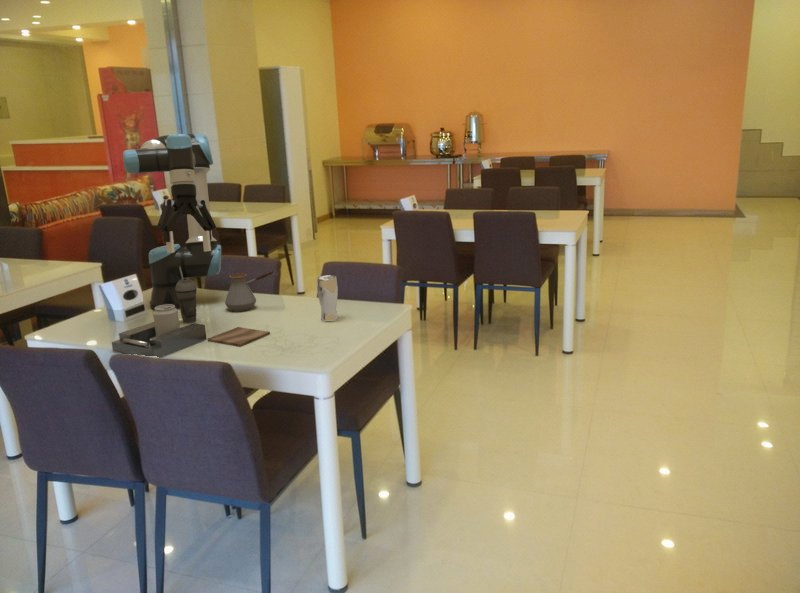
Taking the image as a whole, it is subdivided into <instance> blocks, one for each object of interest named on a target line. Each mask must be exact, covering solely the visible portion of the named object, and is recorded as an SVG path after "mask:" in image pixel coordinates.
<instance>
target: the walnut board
mask: <svg viewBox="0 0 800 593" xmlns="http://www.w3.org/2000/svg"><path fill="white" fill-rule="evenodd" d="M269 335H271V332H270V331H265V330H260V329H254V328H248V327H241V326H237V327H234V328H232V329H229V330H227V331H224V332H222V333H221V332H220V333H219V334H216V335H214V336H211V337H209V338H207V342H211V343H217V344H223V345H228V346H234V347H239V348H241V347H243V346H245V345H247V344H250V343H253V342H255V341H257V340H260V339H262V338H264V337H267V336H269Z"/></svg>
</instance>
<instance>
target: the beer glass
mask: <svg viewBox="0 0 800 593" xmlns="http://www.w3.org/2000/svg"><path fill="white" fill-rule="evenodd" d="M316 278H317V282H316V283H317V284H316V288H317V289H316V290H317V296H318V297H317V298H318V301H319V304H320V308H321V309H320V311H321V313H320V321H321V322H324V321H332V322H335V321H334V320H336V321H338V320H339V315H338V310H337V306H338V304H337V303H338V296H339V295H338V293H339V290H338V282H337V281H338V279H337V276H336V275H333V274H332V275H330V274H329V275H328V274H327V275H326V274H325V275H320V276H318V277H316ZM337 319H338V320H337Z"/></svg>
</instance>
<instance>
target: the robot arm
mask: <svg viewBox="0 0 800 593" xmlns="http://www.w3.org/2000/svg"><path fill="white" fill-rule="evenodd" d="M122 161H123V166H124V167H123V168H124V170H125V172H126V173H127V174H143V173H157V172H159V173H160V172H161V173H164V172H168V173H169V183H170V184H171V186H170V191H171V198H172V199H171V198H168V199H164V200H163V208H162V210H161V214H160V217H159V219H158V222H157V226H156V229H157V231H160V232H162V233H163V241H164V243H165V244H166V245H162V246H157V247H155V248H152V249H151V250H150V251H149V252H148V264H149V269H150V278H151V279H150V280H151V284H152V290H151V296H150V300H149V309H150V310H153V311H155V307H157V306H160V305H166V304H172V305H175V308H176V309H177V310H180V306H179V302H178V297H177V295H176V292H175V290H176V289H175V288H176V284H177V283H178V281H180V280H181V279H182V277H181V273H180V268H179V267H180V266H181V271H182V275H183V279H185V278H187V279H189V278H203V277H204V278H205V277H212V276H217V275H219V274H220V272H221V268H222V267H221V266H222V245H220V244H218V242H217V241H218V240H217V239H216V238H215V237H213V230H215V229H216V224H215V221H214V219H213V218H212V216H211V210H210V209H211V207H210V200H209V190H208V189H209V188H208V180H207V178H208V176H207V174H208V173H209V172H210V170H211V166H212V165H214V159H213V155H212V151H211V147H210V142H209V138H208V136H206V135H205V134H203V133H190V134H189V133H188V134H186V133H173V134H170V135H169V134H168V135H167V134H166V135H165V134H164V135H160V136H157V137H153V138H151V139H149V140H147V141H145V142H143V144H142V145H141V147H140V148H136V149H135V148H134V149H132V148H131V149H126V150H124V151H123V154H122ZM172 207H173V210H172ZM171 210H172V212H171ZM170 213H171V214H170ZM180 215H186V218H187V219H186V220H187V231H188V239H187V240H186V241H185V247H181V245H180V244H179V243H174V242H175V240H174V234H173V233H174V232H173V230H171V229H172V228H173V226H174V225H175V223H176V221H177V219H178V218H179V217H180Z"/></svg>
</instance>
